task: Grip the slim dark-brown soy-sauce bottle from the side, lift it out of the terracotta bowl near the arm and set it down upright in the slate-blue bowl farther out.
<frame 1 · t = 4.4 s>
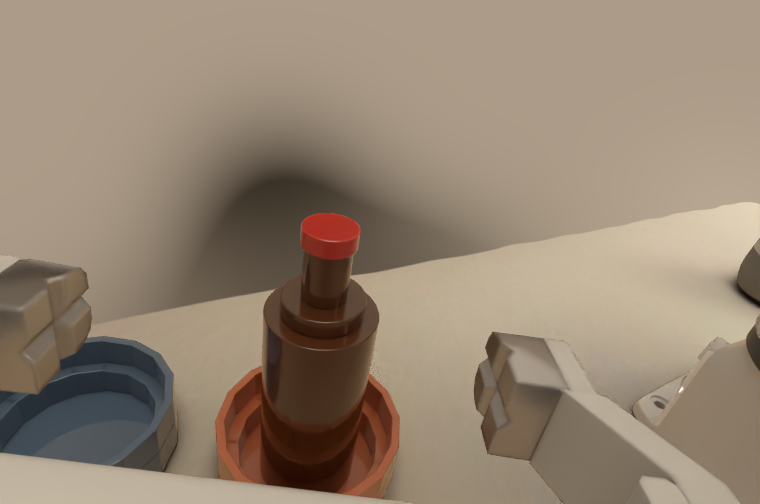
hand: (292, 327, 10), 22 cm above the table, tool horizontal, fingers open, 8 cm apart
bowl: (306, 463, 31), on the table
sauce bottle: (306, 459, 31), resting on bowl
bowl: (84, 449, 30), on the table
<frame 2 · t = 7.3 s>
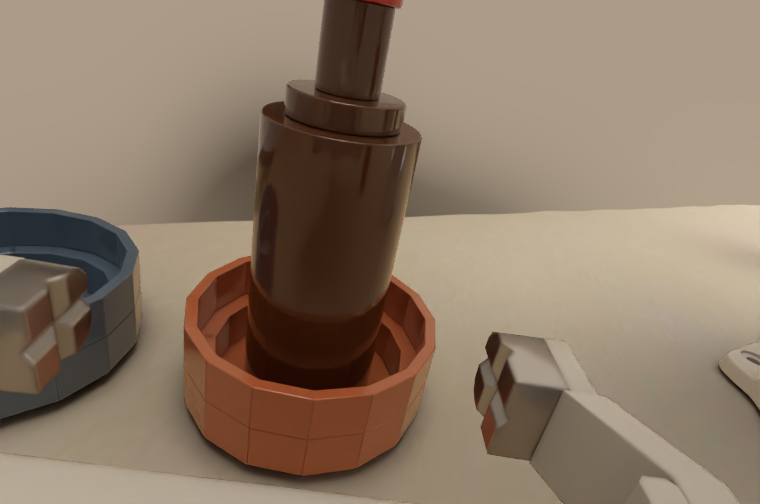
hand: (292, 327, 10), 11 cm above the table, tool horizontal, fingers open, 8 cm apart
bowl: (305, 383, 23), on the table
sauce bottle: (306, 375, 23), resting on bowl
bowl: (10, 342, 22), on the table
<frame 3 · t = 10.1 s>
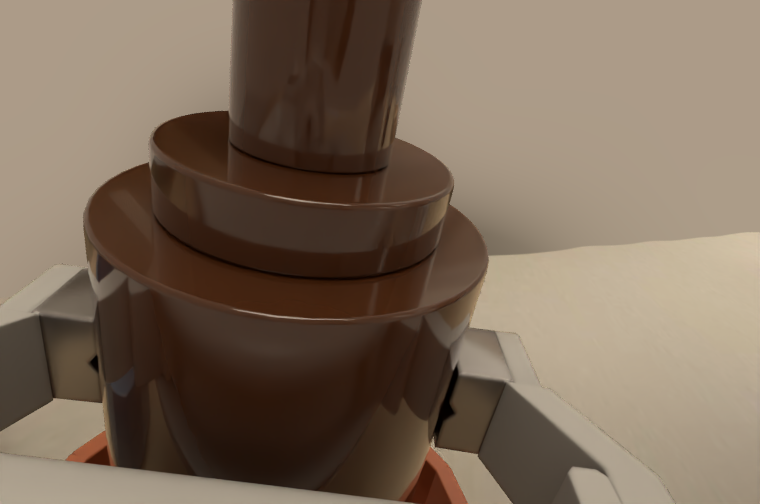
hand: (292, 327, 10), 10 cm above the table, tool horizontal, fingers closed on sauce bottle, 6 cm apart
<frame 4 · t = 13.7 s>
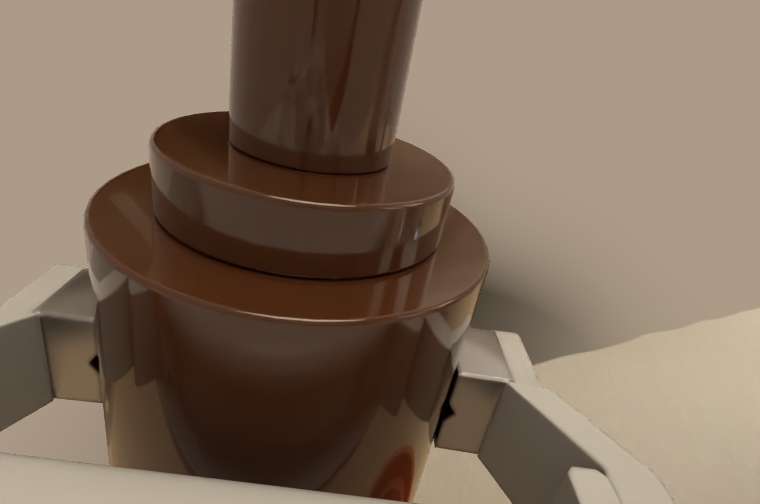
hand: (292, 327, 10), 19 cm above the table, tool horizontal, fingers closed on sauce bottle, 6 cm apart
when the fingers open (10 cm above the table, at t = 17.2 s): sauce bottle stays where it is, resting on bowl.
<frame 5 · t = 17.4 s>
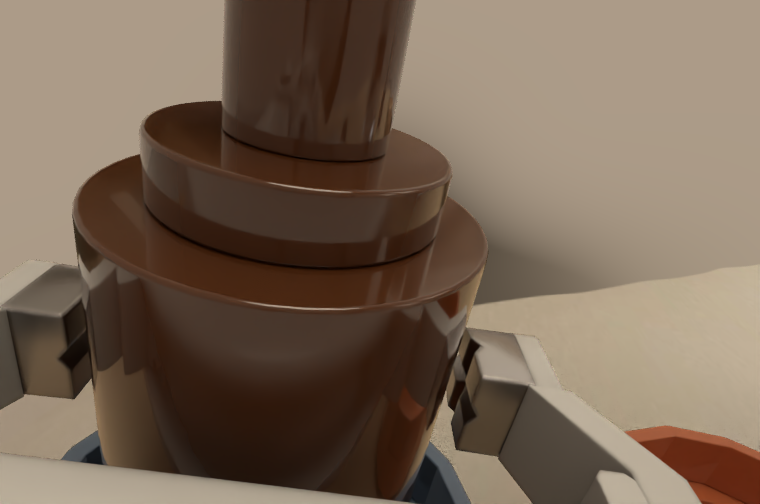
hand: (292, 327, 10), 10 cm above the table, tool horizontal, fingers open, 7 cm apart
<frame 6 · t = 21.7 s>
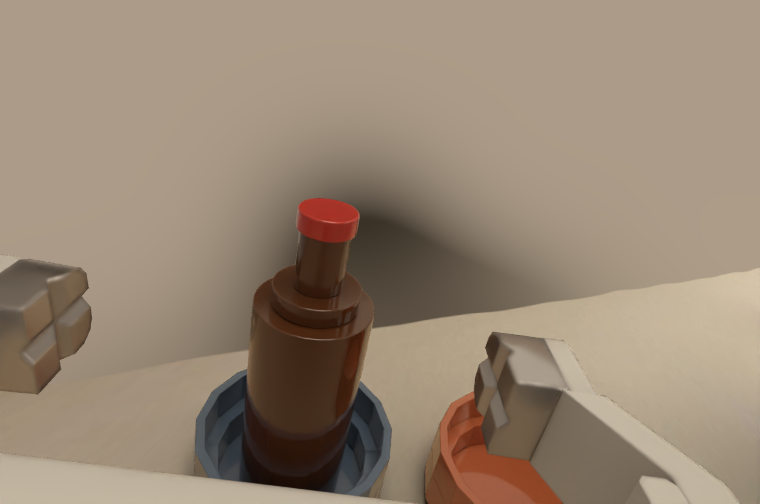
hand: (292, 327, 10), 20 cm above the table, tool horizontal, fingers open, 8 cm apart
sauce bottle: (289, 472, 29), resting on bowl
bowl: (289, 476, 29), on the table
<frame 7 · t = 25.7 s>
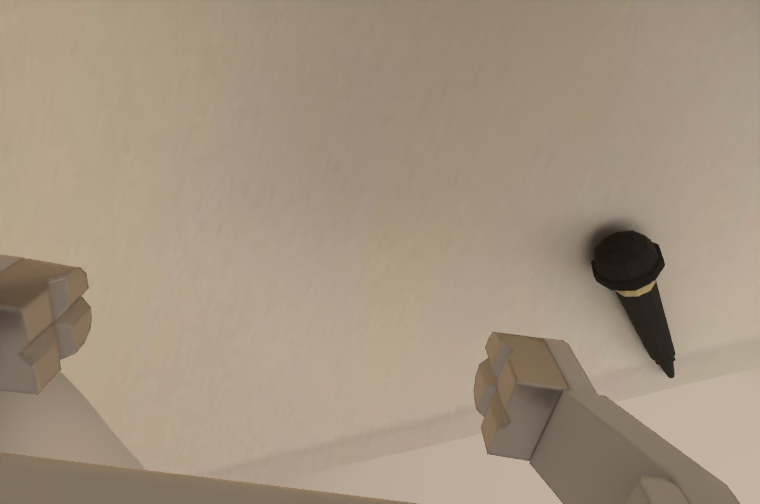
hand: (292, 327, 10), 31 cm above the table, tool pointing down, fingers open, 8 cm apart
microphone: (628, 304, 46), on the table
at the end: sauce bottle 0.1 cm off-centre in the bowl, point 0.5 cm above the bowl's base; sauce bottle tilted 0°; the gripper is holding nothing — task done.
